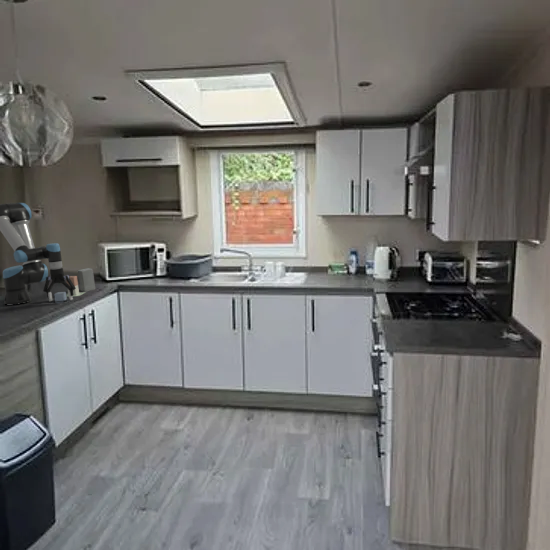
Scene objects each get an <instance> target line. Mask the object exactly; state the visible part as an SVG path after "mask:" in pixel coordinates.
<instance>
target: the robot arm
mask: <svg viewBox="0 0 550 550" xmlns="http://www.w3.org/2000/svg"><path fill="white" fill-rule="evenodd" d="M32 217H33V216H32V210H31V208H30V206H29V205H28V204H26V203H25V202H10V203H0V232H1V234H2V235H3V237H4V239H6V241H7V242H8V244H9V245H10V248H12V250H13V258H14V261H16V263H22V265H14V266H10V267H7V268H4V269H3V271H2V279H3V283H4V290H5V295H4V296H5V297H4V305H5V304H18V303H23V302H27V301H30V300H31V301H32V298H31V297H30V294H29V292H28V291H27V288H26V287H27V285H31V284H32V285H33V284H37V283H38V284H39V283H43V282H45V284H44V286H43V291H42V292H43V293H46V297H47V298H48V302H53V294H52V291H51V290H52V289H53V287H54V286H55V284H62V285H63V286H65V288H66V289H67V291H68V290H69V297H68V298H69V302H70V303H71V302H72V301H73V300H74V298H73V297H74V296H73V295H74V294H73V290H75V289H76V288H75V286H74V284H73V283H72V281H71V280H70V277H69V276H70V275H68V274H66V275H65V273H64V268H63V267H64V266H63V260H62V252H61V247H60V244H59V243H57V242H56V243H55V242H53V243H47V244H46V245H45V246H39V247H35V244H34V240H33V237H32V232H31V229H30V227H29V226H30V225H29V224H30V223H31V221H30V220H31V219H32ZM45 259H46V260H47V259H48V266H47V265H46V264H45V263H43V262H42V260H45ZM48 267H49V269H48ZM49 273H50V274H49ZM49 275H50V276H49ZM66 280H67V281H66ZM67 282H68V283H69V284H68V283H67ZM49 284H50V285H49ZM31 301H30V302H31Z"/></svg>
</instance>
